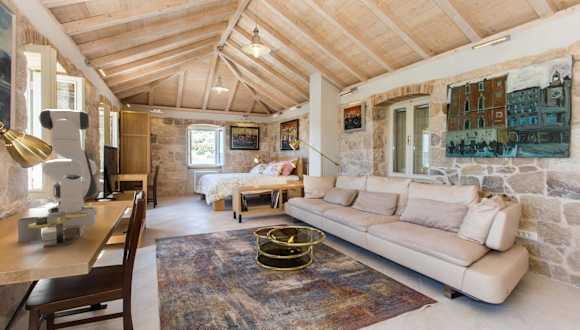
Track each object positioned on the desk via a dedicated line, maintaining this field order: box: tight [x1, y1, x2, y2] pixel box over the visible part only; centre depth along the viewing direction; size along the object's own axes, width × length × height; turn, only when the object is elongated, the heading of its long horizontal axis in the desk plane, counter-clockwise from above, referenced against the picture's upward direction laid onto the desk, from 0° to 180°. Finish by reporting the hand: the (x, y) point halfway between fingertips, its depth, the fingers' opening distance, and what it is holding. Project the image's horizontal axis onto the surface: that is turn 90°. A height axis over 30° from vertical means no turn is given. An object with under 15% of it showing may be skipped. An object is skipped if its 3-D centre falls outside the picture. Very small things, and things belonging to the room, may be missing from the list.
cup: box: [17, 216, 42, 242], centre depth 138 cm, size 8×8×10 cm
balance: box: [28, 212, 89, 249], centre depth 130 cm, size 9×22×14 cm, turn 110°
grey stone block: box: [41, 228, 57, 242], centre depth 138 cm, size 5×5×4 cm
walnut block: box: [63, 226, 81, 240], centre depth 140 cm, size 5×5×5 cm
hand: (72, 234), depth 140 cm, fingers closed on walnut block, 5 cm apart
